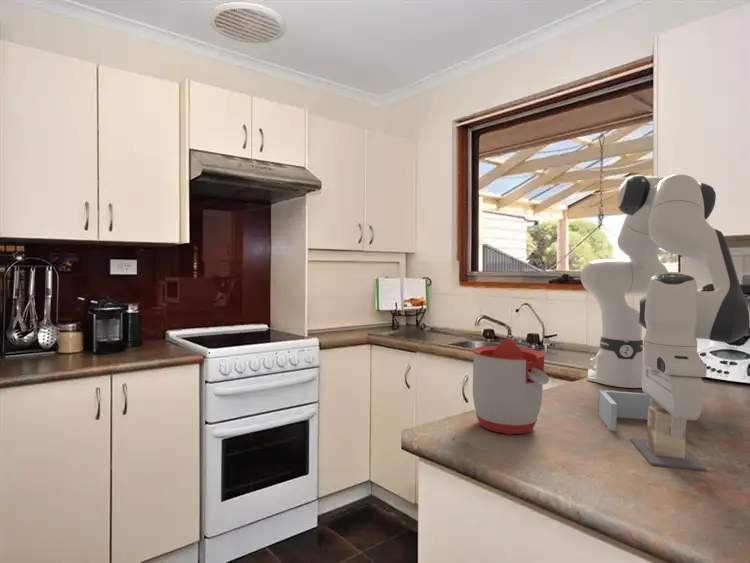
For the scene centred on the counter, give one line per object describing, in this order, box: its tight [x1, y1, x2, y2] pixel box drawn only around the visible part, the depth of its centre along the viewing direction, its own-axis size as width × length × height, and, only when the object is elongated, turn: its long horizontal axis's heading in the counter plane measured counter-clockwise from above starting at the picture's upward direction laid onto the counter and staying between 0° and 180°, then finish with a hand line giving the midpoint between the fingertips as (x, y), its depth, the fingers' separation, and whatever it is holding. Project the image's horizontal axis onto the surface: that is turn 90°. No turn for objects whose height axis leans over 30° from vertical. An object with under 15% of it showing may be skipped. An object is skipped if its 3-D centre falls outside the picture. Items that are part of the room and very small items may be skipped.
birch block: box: [646, 406, 687, 458], centre depth 92 cm, size 5×5×8 cm
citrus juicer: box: [472, 337, 549, 436], centre depth 105 cm, size 16×17×20 cm
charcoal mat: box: [629, 437, 707, 472], centre depth 92 cm, size 13×9×1 cm
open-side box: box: [597, 389, 651, 432], centre depth 109 cm, size 12×14×6 cm
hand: (666, 428), depth 92 cm, fingers open, 8 cm apart
